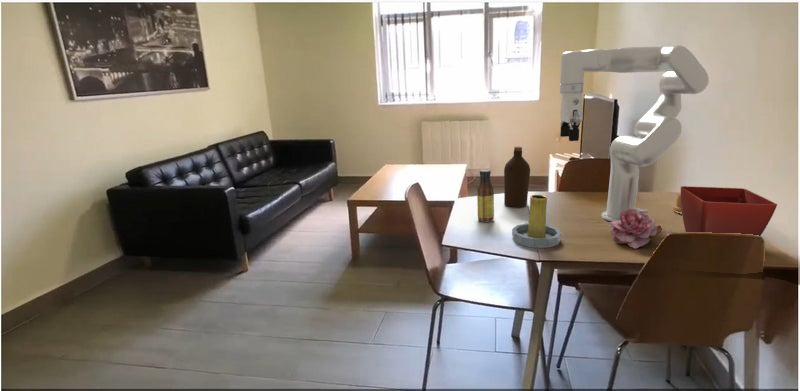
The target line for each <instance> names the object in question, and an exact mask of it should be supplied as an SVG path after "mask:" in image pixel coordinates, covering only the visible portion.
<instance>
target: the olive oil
mask: <svg viewBox="0 0 800 391" xmlns="http://www.w3.org/2000/svg"><path fill="white" fill-rule="evenodd" d="M503 174H504V175H503V177H504V180H503V181H504V184H503V185H504V187H503V188H504V189H503V190H504V194H503V195H504V197H503V198H504V199H503V200H504V201H503V202H504V206H506V207H508V208H511V209H512V208H514V209H523V208H525V207H527V205H528V196H529V187H530V186H529V185H530V176H531V167H530V164H529V163H528V161H527V160H526V159H525V158H524V156H523V147H522V146H515V147H514V149H513V156H512V157H511V158H510V159H509V160H508V161H507V162H506V163H505V166H504V169H503Z"/></svg>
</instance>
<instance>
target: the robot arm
mask: <svg viewBox="0 0 800 391" xmlns="http://www.w3.org/2000/svg"><path fill="white" fill-rule="evenodd" d="M599 72H600V73H601V72H603V73H605V72H607V73H617V74H618V73H619V74H620V73H622V74H623V73H625V74H627V73H630V74H631V73H658V72H659V73H660V72H661V73H662V72H664V73H663V74H662V75H661V77H660V79H659V83H658V87H659V90H658V91H659V93H658V99H657V101H656V102H655V103H654V104H653V105H652V107H651V108H650V109H649V110H647V112H646V113H644V114H643V116H642V117H641V118H639V120H638V121H637V122H636V123H635V125H634V126H633V127H634V128H633V133H634V135H635V136H634V135H627V134H626V135H623V134H622V135H620V136H618V137H616V138H614V140H612V142H611V143H610V144H611V145H610V148H609V156H610V175H609V185H608V195H607V201H606V210H604V211H602V213H601V218H602V219H603V220H606V221H608V222H612V221H620V214H621V213H622V211H625V210H628V209H634V210H636V211H638V212H639V213H643V214H646V215H649V210H648V209H642V208H640V207H639V208H637V207H636V202H637V195H638V187H639V178H640V170H639V169H640V168H639V167H648V166H650V165H653V164H654V163H655V162H657V161H658V160H659V159H660V158H661V157H662V156H663V155H664V154H665V153H667V151H668V150H669V149H670V148H672V147H673V145H674V144H675V143H676V142H677V141H678V139H679V138H680V136H681V134H682V123H681V121H680V120H679V119H678V118H677V117H678V116H679V114H680V113H681V110H682V95H697V94H700V93H702V92H704V91H705V90H706V88H707V87H708V85H709V82H710V80H709V79H710V77H709V74H708V72H707V70H706V69H705V67H704V66H703V65H702V63H700V61H699V60H698V59H697V57H696V56H695V55H694V54H693V52H691V50H690V49H688V48H687V47H686V46H683V45H681V44H680V45H679V44H676V45H664V46H628V47H627V46H625V47H620V48H612V49H604V48H603V49H602V48H593V49H592V48H591V49H583V50H573V51H571V50H570V51H564V52H563V53H562V54H561V56H560V77H559V78H560V80H559V94H560V95H561V98H560V99H561V102H560V114H559V115H560V120H561V121H560V131H559V132H560V134H559V136H560V137H561V138H563V137H564V138H565V137H568V141H569V142H578V141H579V140H580V128H581V126H580V125H581V123H582V122H583V119H584V118H583V108H584V107H583V106H584V105H583V104H584V103H583V94H584V87H585V86H584V82H585V73H599Z"/></svg>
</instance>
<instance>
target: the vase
mask: <svg viewBox="0 0 800 391" xmlns="http://www.w3.org/2000/svg"><path fill="white" fill-rule="evenodd" d="M547 200H548V197H547V196H546V195H543V194H532V195H531V196H530V198H529V212H528V213H529V214H528V215H529V217H528V223H529V224H528V234H527V236H528V237H532V238H546V225H547V203H548V201H547Z"/></svg>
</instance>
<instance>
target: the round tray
mask: <svg viewBox="0 0 800 391" xmlns="http://www.w3.org/2000/svg"><path fill="white" fill-rule="evenodd" d="M528 224H529V222H528V223H521V224H517V225H515V226H514V227H512V229H511V236H512V240H513V241H514V243H516V244H518V245H521V246H522V247H527V248H533V249H534V248H535V249H548V248H553V247H557V246H558V245H559V244H560V243H561V242H560V241H561V238H562V232H561V231H560V230H559V228H557V227H554V226H551V225H548V224H546V238H532V237H528V236H527V234H528Z"/></svg>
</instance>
